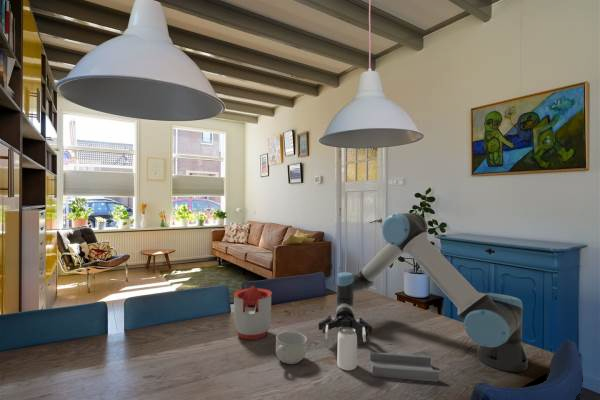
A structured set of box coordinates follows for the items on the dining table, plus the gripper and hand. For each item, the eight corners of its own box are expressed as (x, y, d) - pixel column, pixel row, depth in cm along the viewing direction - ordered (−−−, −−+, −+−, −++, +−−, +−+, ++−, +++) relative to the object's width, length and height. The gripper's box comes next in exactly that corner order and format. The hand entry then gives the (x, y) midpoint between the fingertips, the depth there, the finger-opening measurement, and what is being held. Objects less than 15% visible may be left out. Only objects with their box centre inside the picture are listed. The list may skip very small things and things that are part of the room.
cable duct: (429, 364, 112) (429, 356, 112) (438, 381, 101) (438, 372, 101) (369, 360, 114) (370, 351, 114) (372, 376, 104) (372, 367, 104)
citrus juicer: (228, 344, 125) (229, 292, 125) (236, 326, 142) (236, 280, 142) (270, 344, 125) (270, 292, 125) (272, 326, 143) (273, 281, 142)
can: (350, 360, 114) (351, 325, 114) (360, 369, 108) (360, 333, 108) (333, 363, 112) (334, 328, 112) (343, 372, 106) (343, 335, 106)
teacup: (289, 349, 121) (289, 328, 121) (312, 359, 114) (313, 336, 114) (262, 364, 111) (262, 340, 111) (286, 375, 104) (286, 350, 104)
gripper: (375, 326, 137) (380, 349, 116) (315, 322, 140) (310, 344, 119) (375, 308, 137) (381, 328, 116) (315, 305, 140) (310, 323, 119)
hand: (345, 336), depth 117 cm, fingers open, 13 cm apart
